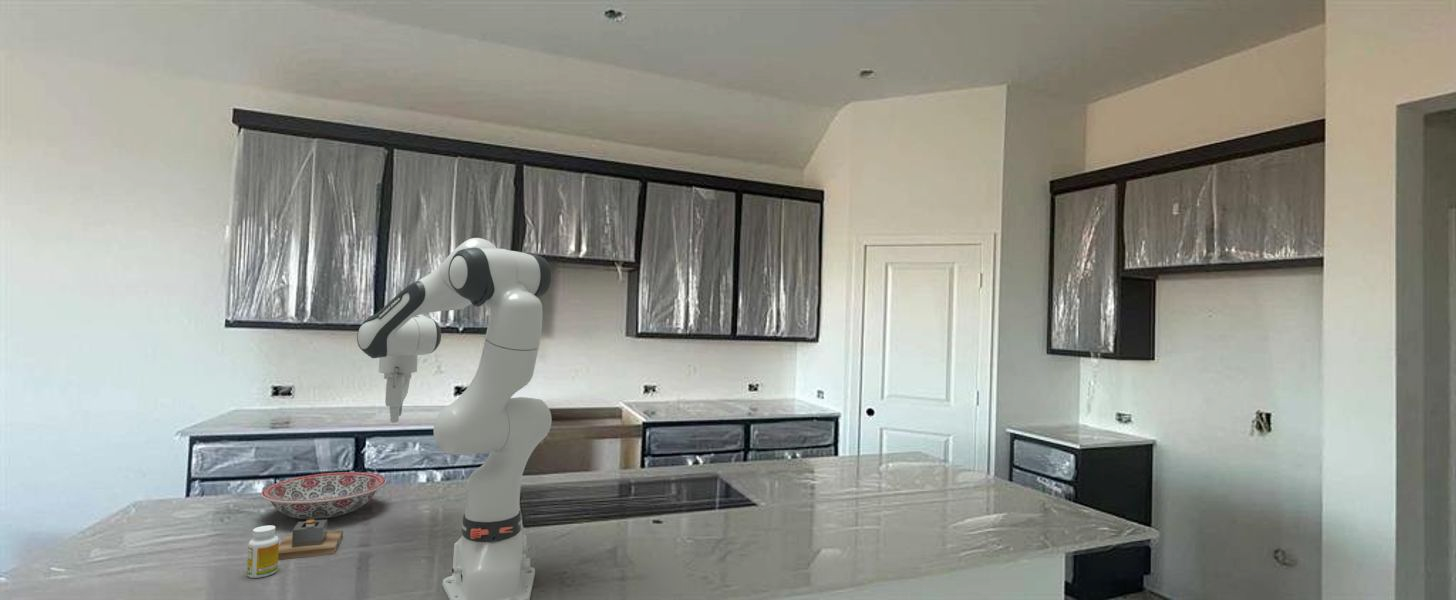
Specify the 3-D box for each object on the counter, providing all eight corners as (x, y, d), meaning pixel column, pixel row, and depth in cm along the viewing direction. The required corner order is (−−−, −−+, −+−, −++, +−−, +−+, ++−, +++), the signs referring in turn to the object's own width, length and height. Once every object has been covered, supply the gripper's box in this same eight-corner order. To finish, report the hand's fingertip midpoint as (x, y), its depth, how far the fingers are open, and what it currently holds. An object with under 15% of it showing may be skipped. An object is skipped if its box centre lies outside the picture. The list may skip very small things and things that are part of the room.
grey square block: (322, 544, 150) (322, 527, 151) (291, 547, 148) (292, 530, 148) (326, 535, 156) (327, 519, 156) (297, 538, 154) (298, 521, 154)
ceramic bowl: (377, 526, 167) (378, 496, 167) (243, 538, 157) (244, 505, 157) (391, 495, 194) (392, 469, 195) (277, 503, 184) (278, 475, 184)
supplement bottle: (283, 568, 140) (285, 524, 140) (266, 578, 135) (268, 532, 135) (258, 568, 140) (260, 523, 140) (240, 578, 135) (242, 532, 135)
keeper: (334, 553, 149) (335, 526, 149) (272, 560, 144) (273, 531, 144) (342, 536, 160) (343, 510, 160) (285, 541, 155) (286, 515, 155)
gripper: (409, 369, 156) (406, 425, 156) (414, 361, 175) (412, 411, 175) (380, 369, 154) (377, 426, 154) (388, 361, 173) (386, 412, 173)
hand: (396, 418), depth 165 cm, fingers open, 8 cm apart
